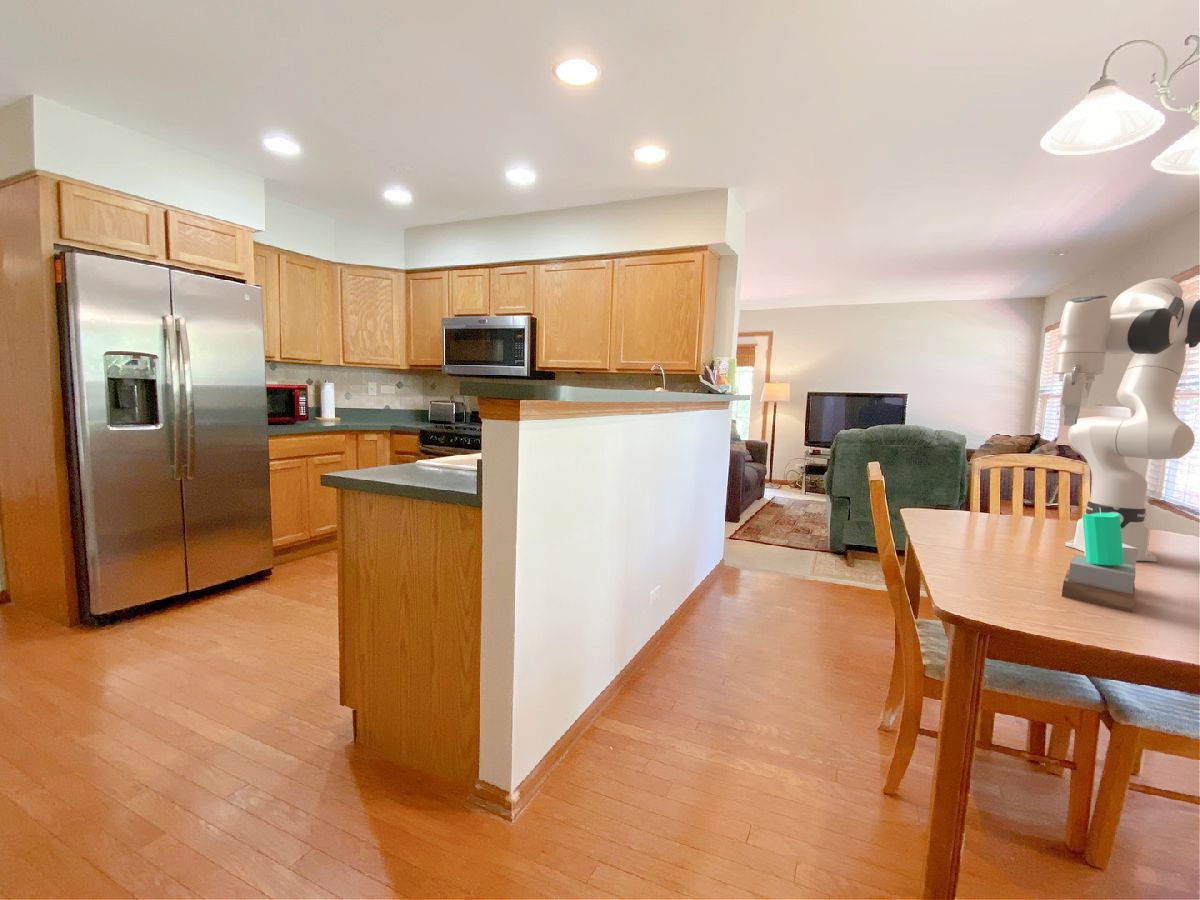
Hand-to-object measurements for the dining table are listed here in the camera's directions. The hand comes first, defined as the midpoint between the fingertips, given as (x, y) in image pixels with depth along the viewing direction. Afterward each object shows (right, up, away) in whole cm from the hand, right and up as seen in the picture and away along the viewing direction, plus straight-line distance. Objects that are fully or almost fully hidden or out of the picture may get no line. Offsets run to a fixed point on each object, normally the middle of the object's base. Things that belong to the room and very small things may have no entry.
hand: (1070, 425), depth 125 cm
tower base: (-2, -39, -9) cm, 40 cm away
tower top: (-2, -35, -10) cm, 36 cm away
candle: (-2, -31, -10) cm, 32 cm away
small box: (+7, -38, -2) cm, 39 cm away
